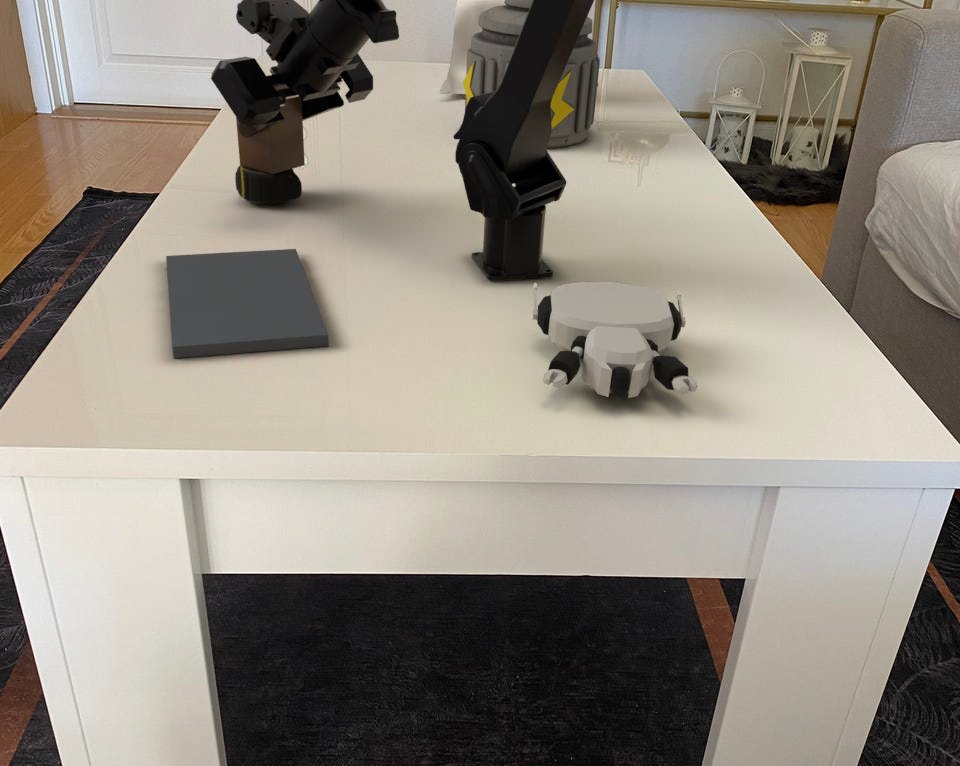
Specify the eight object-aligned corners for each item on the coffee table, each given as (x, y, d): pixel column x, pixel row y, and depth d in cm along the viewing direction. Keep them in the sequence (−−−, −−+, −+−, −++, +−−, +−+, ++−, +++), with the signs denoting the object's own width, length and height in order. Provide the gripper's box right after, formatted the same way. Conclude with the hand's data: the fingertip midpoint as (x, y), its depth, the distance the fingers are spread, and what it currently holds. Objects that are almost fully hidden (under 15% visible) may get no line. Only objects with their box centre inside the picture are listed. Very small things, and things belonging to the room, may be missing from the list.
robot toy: (699, 425, 72) (672, 327, 84) (710, 372, 70) (680, 279, 82) (533, 417, 72) (529, 320, 84) (537, 364, 70) (533, 271, 82)
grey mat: (328, 346, 79) (328, 334, 79) (173, 358, 76) (172, 346, 75) (296, 258, 95) (295, 248, 95) (167, 265, 92) (166, 255, 92)
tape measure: (304, 208, 108) (302, 174, 106) (240, 211, 106) (237, 176, 104) (294, 190, 114) (292, 157, 112) (233, 192, 112) (231, 159, 110)
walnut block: (305, 165, 109) (301, 89, 105) (272, 174, 106) (267, 96, 101) (272, 157, 111) (267, 82, 107) (239, 165, 108) (233, 89, 104)
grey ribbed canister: (616, 146, 138) (645, -101, 122) (492, 153, 131) (505, -106, 115) (558, 115, 152) (577, -109, 136) (444, 120, 146) (450, -114, 130)
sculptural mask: (434, 99, 157) (436, -15, 148) (465, 86, 166) (468, -21, 158) (534, 113, 151) (542, -4, 143) (559, 99, 161) (569, -11, 152)
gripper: (350, -42, 103) (280, 56, 114) (214, -32, 89) (149, 78, 100) (409, 49, 103) (333, 138, 114) (283, 73, 90) (211, 170, 101)
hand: (260, 129), depth 107 cm, fingers closed on walnut block, 5 cm apart
